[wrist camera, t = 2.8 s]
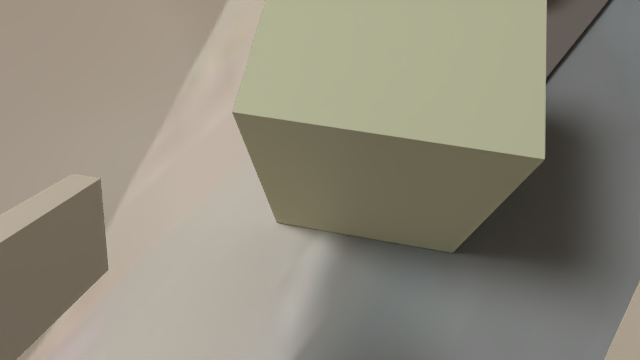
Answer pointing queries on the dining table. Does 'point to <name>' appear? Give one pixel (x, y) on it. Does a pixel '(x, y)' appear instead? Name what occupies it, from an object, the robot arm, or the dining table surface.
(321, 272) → the dining table surface
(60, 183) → the robot arm
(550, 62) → the mat
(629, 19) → the dining table surface
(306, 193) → the sage green cube
